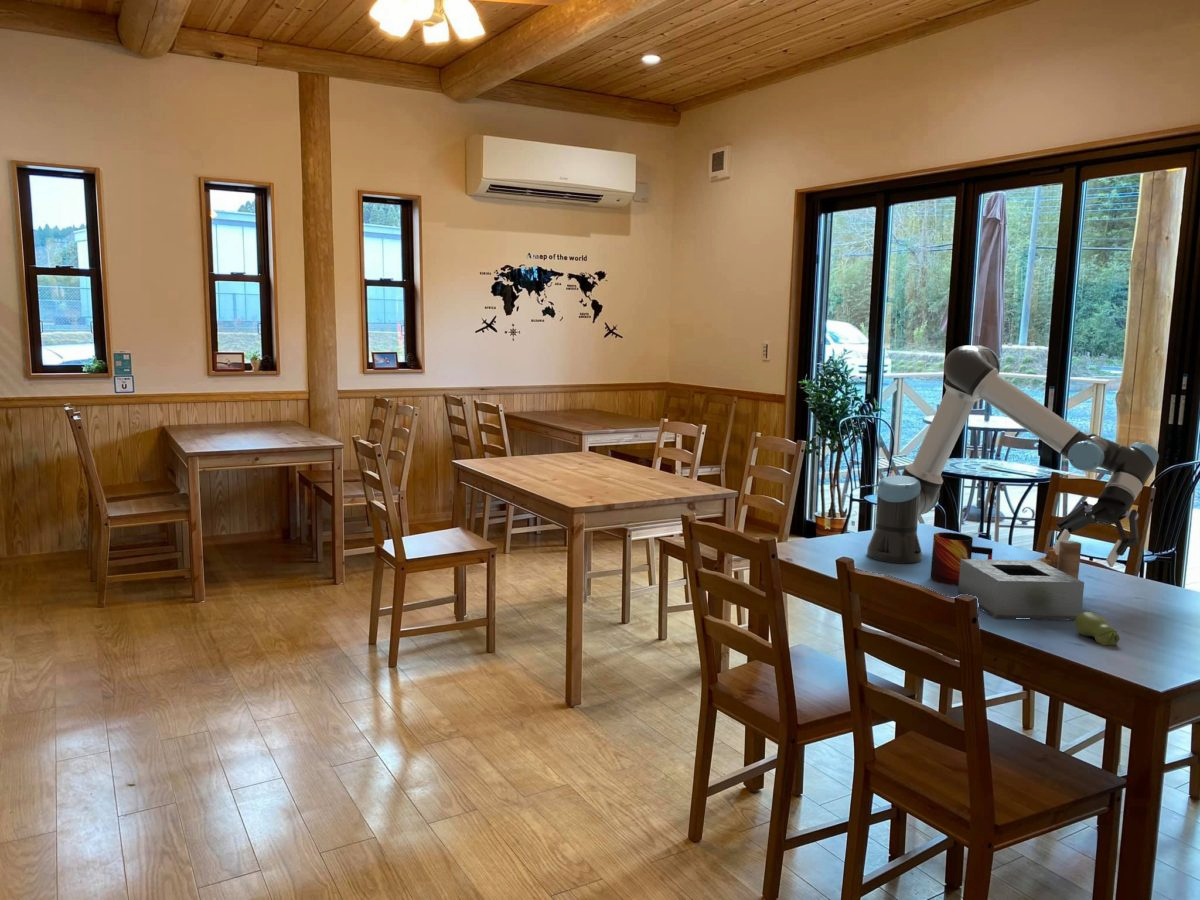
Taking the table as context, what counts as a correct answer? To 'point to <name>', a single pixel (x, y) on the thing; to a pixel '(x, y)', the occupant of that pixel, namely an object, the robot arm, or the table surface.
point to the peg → (1069, 557)
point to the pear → (1096, 628)
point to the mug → (952, 556)
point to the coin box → (1021, 589)
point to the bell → (1050, 558)
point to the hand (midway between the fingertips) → (1081, 557)
